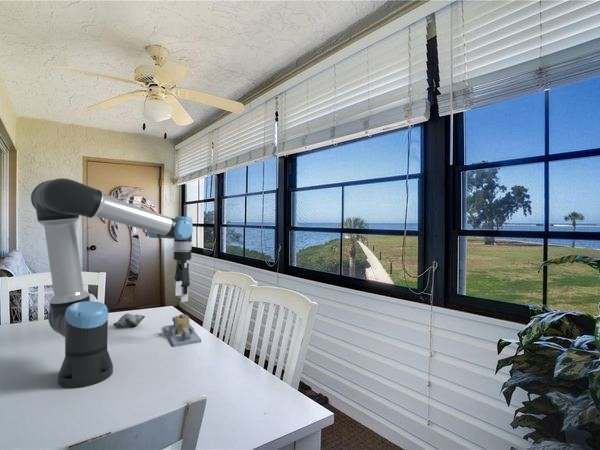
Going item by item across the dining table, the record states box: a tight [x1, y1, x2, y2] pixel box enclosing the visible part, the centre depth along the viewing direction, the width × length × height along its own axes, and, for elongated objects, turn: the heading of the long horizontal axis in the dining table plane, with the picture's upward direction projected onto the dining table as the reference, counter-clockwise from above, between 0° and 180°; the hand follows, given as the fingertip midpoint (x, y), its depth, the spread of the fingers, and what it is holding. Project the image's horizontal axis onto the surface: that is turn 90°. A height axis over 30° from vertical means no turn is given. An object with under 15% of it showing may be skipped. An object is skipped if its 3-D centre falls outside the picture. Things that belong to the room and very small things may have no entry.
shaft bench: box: [163, 316, 202, 348], centre depth 150 cm, size 26×11×5 cm, turn 30°
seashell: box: [113, 313, 146, 329], centre depth 160 cm, size 6×8×12 cm
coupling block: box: [174, 313, 190, 335], centre depth 150 cm, size 5×5×8 cm
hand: (181, 298), depth 150 cm, fingers open, 13 cm apart
